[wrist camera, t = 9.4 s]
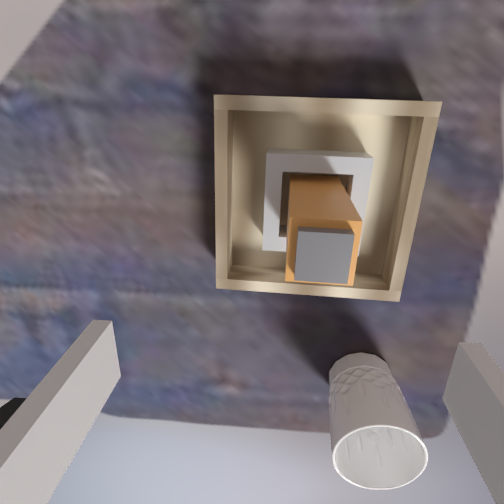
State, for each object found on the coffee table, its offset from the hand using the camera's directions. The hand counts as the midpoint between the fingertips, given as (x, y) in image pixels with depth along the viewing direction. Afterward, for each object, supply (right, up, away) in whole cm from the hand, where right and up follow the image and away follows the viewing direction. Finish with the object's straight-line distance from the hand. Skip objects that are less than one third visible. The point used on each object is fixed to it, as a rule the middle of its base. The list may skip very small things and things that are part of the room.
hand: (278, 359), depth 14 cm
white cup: (+11, -9, +26) cm, 30 cm away
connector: (+4, +9, +18) cm, 20 cm away
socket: (+4, +9, +19) cm, 21 cm away
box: (+4, +9, +19) cm, 21 cm away
